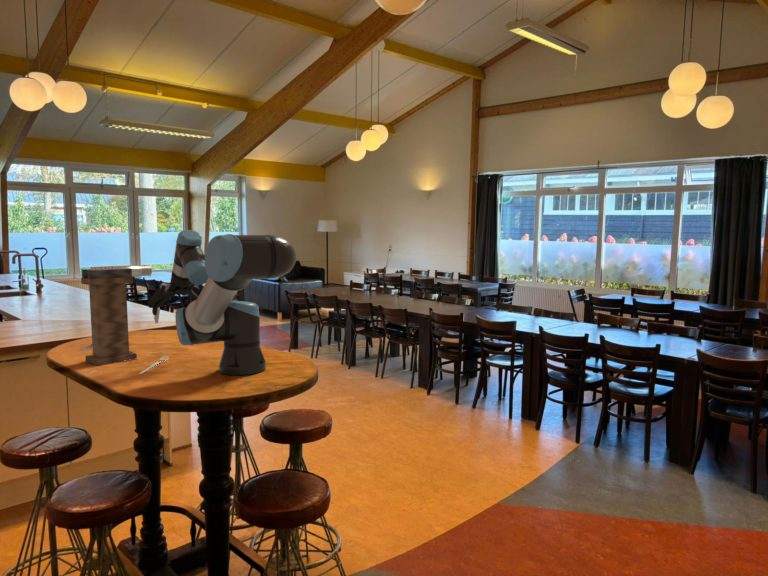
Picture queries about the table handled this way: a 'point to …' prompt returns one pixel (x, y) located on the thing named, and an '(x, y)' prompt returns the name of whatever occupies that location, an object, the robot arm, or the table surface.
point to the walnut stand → (108, 315)
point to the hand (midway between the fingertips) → (175, 319)
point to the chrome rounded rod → (136, 269)
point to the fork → (154, 364)
